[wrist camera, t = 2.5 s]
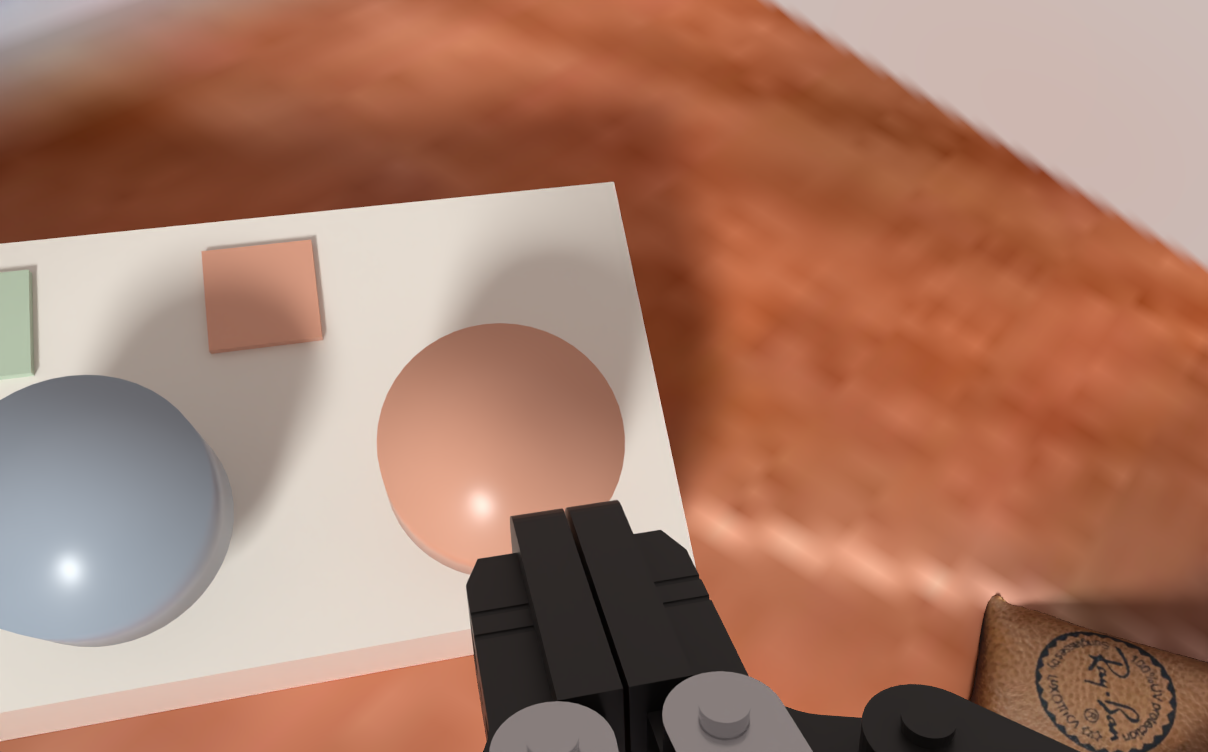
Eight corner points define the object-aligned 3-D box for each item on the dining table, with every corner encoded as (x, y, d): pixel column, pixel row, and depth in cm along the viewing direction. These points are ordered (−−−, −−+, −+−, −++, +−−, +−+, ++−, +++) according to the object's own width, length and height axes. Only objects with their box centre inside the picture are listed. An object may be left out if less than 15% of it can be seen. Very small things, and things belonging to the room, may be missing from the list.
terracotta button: (398, 596, 20) (392, 581, 18) (371, 373, 21) (363, 338, 20) (629, 557, 21) (647, 539, 19) (588, 345, 22) (600, 309, 20)
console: (-257, 788, 26) (-561, 811, 18) (-235, 407, 29) (-488, 288, 21) (639, 624, 30) (702, 586, 22) (577, 306, 33) (614, 177, 25)
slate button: (-23, 668, 19) (-76, 660, 17) (-24, 425, 20) (-73, 393, 18) (243, 623, 20) (220, 611, 18) (224, 392, 21) (201, 359, 19)
